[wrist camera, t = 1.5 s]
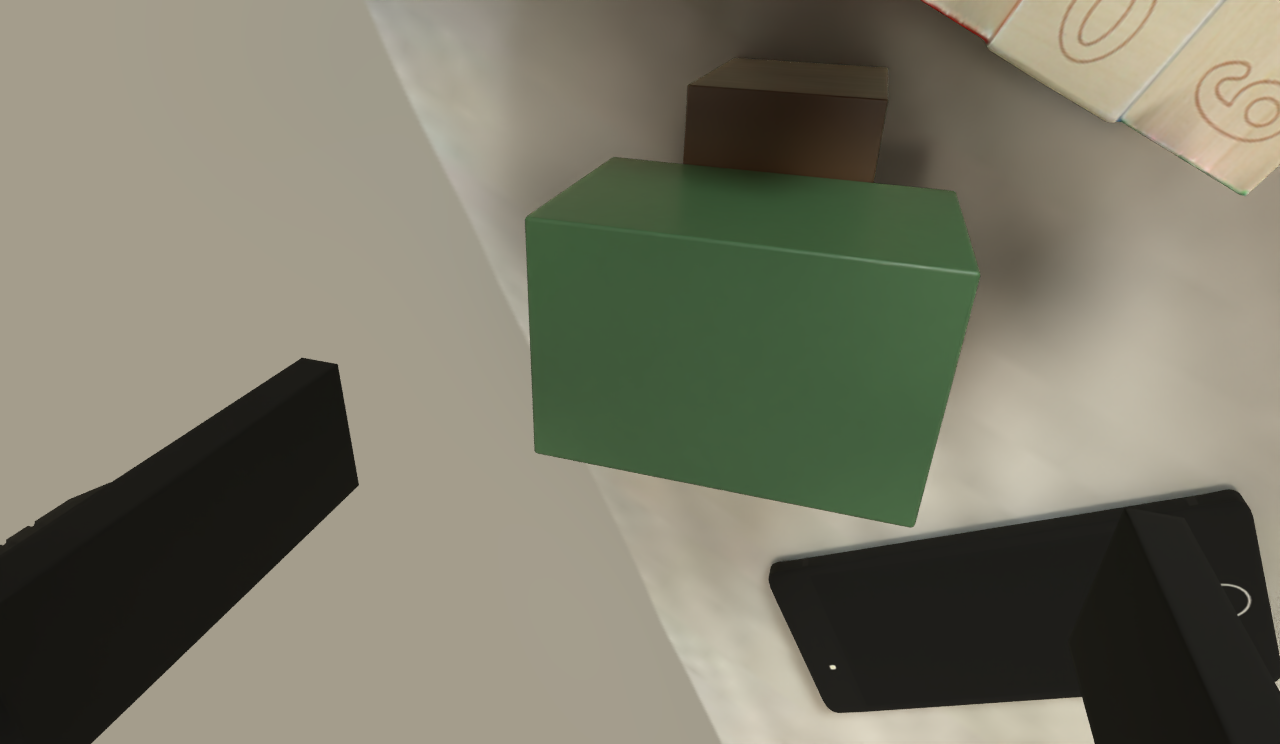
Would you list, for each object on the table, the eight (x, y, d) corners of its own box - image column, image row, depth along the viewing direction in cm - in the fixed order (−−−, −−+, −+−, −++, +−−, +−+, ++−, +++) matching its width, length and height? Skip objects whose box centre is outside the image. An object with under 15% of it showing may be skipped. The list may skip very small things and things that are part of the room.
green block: (612, 156, 21) (523, 216, 16) (956, 190, 19) (982, 272, 14) (609, 350, 24) (533, 453, 19) (908, 398, 22) (914, 529, 17)
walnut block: (734, 57, 25) (687, 84, 19) (888, 67, 24) (888, 99, 18) (711, 327, 30) (667, 415, 24) (839, 346, 29) (826, 443, 23)
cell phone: (1275, 664, 30) (1285, 683, 29) (830, 699, 37) (828, 715, 37) (1240, 484, 27) (1250, 499, 26) (766, 561, 35) (763, 575, 34)
